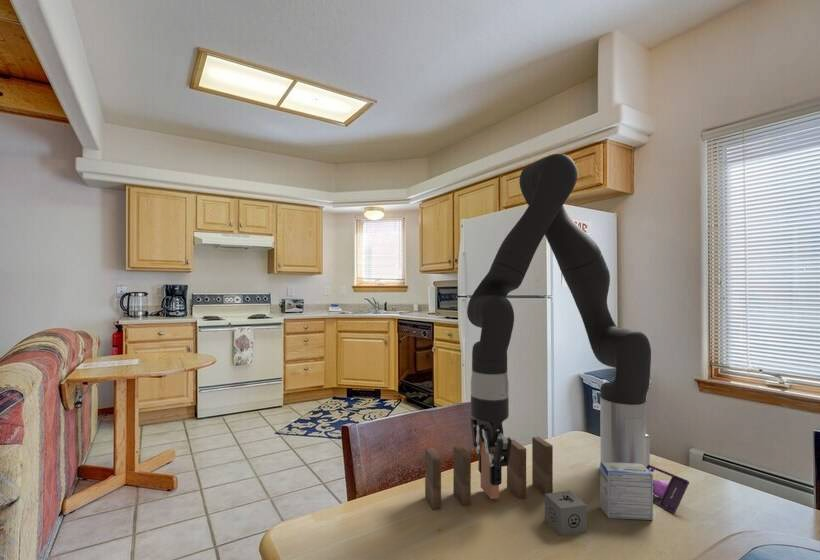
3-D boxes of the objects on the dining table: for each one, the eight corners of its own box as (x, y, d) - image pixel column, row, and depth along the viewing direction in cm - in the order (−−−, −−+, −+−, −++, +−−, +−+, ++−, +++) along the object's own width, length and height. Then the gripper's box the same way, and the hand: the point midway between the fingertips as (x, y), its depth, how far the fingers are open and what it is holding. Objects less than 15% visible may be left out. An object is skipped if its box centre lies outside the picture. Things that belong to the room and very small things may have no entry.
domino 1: (432, 498, 83) (432, 448, 83) (441, 511, 78) (441, 458, 78) (425, 499, 82) (425, 448, 82) (432, 512, 78) (432, 459, 78)
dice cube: (586, 533, 71) (586, 504, 71) (561, 538, 70) (560, 508, 70) (569, 517, 76) (569, 490, 76) (544, 521, 75) (544, 493, 75)
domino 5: (538, 483, 89) (538, 436, 89) (552, 494, 84) (552, 445, 84) (532, 484, 89) (532, 437, 89) (545, 495, 84) (545, 446, 84)
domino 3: (487, 486, 86) (487, 437, 86) (498, 498, 81) (498, 447, 81) (480, 487, 85) (480, 438, 86) (491, 499, 81) (491, 447, 81)
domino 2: (460, 494, 84) (460, 445, 84) (470, 507, 80) (470, 454, 80) (453, 495, 84) (453, 445, 84) (462, 508, 79) (463, 455, 79)
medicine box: (642, 508, 79) (642, 463, 79) (653, 521, 75) (653, 473, 75) (599, 506, 80) (599, 461, 80) (608, 519, 76) (608, 471, 76)
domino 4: (513, 486, 87) (513, 439, 88) (526, 498, 83) (526, 448, 83) (506, 487, 87) (506, 440, 87) (519, 499, 82) (519, 449, 82)
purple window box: (670, 510, 77) (631, 490, 85) (688, 525, 78) (647, 504, 86) (686, 478, 79) (645, 462, 87) (702, 493, 80) (661, 475, 88)
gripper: (524, 401, 78) (524, 493, 77) (490, 383, 91) (490, 461, 91) (488, 404, 76) (488, 498, 75) (459, 386, 89) (458, 465, 89)
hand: (489, 477), depth 83 cm, fingers closed on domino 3, 4 cm apart
